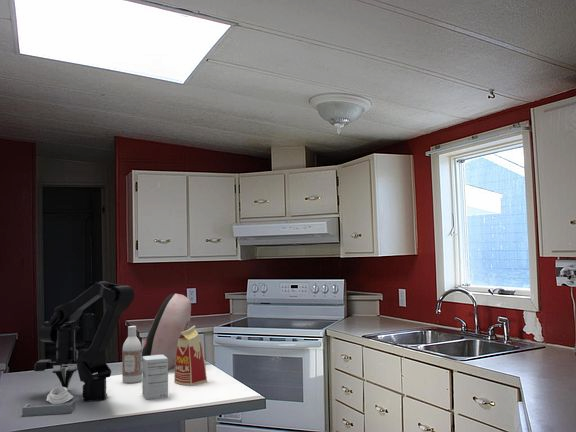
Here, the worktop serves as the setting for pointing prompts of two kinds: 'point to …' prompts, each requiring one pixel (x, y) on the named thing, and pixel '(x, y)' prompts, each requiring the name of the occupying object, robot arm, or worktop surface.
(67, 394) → the whipped cream
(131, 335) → the bath foam
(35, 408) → the tray
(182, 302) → the beige tall rounded piece
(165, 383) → the supplement box
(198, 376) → the milk carton
